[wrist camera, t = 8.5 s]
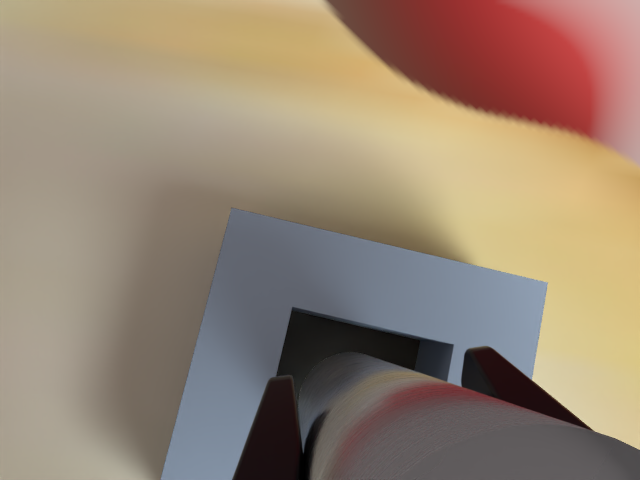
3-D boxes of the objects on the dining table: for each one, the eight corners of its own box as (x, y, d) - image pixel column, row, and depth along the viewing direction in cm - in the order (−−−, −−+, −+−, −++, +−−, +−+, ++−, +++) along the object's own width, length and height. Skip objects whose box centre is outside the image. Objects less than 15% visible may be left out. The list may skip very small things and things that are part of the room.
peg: (342, 483, 16) (538, 1053, 3) (276, 397, 16) (229, 631, 4) (423, 413, 16) (860, 688, 4) (357, 330, 16) (564, 335, 4)
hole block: (446, 563, 18) (490, 629, 14) (173, 501, 18) (141, 550, 14) (495, 291, 20) (547, 282, 16) (243, 231, 19) (231, 207, 15)
